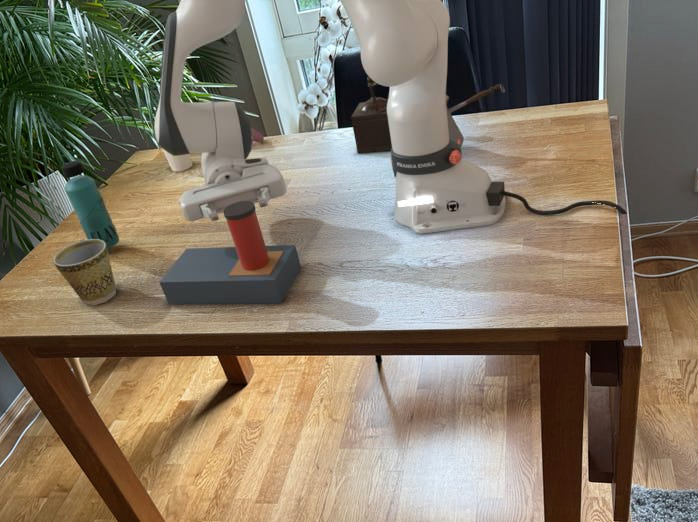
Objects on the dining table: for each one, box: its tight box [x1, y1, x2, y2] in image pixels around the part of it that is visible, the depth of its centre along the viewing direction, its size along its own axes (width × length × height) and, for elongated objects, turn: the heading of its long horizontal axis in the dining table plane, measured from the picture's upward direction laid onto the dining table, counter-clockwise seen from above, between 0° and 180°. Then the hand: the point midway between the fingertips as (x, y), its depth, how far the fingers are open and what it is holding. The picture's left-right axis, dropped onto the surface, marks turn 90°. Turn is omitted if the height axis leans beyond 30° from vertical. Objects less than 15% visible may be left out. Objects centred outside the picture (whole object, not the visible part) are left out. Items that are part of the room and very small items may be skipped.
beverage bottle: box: [61, 160, 120, 250], centre depth 148 cm, size 6×7×20 cm
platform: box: [159, 244, 302, 305], centre depth 131 cm, size 23×12×5 cm, turn 77°
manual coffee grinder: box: [350, 76, 392, 154], centre depth 172 cm, size 16×11×18 cm
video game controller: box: [250, 127, 265, 144], centre depth 190 cm, size 10×5×7 cm, turn 68°
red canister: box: [222, 201, 269, 270], centre depth 124 cm, size 6×6×11 cm
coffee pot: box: [446, 83, 506, 147], centre depth 159 cm, size 21×12×15 cm, turn 75°
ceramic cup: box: [52, 239, 117, 306], centre depth 136 cm, size 13×10×10 cm
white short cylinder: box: [161, 147, 193, 172], centre depth 184 cm, size 7×7×7 cm
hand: (238, 210), depth 129 cm, fingers open, 8 cm apart
